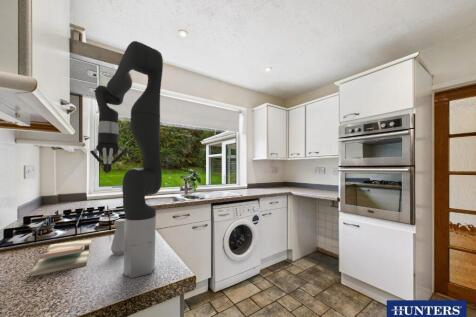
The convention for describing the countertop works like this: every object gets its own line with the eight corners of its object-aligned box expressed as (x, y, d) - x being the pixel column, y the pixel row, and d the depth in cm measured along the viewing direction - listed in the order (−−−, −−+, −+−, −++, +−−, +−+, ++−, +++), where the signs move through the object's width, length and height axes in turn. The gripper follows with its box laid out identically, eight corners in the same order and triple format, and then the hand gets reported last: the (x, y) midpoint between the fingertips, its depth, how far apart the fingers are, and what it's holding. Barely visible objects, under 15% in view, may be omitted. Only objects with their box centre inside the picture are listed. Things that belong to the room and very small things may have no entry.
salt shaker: (120, 257, 76) (121, 222, 77) (107, 255, 77) (108, 221, 78) (131, 251, 82) (132, 218, 82) (118, 249, 83) (119, 217, 84)
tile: (83, 245, 81) (83, 249, 80) (49, 251, 75) (49, 254, 75) (80, 248, 70) (79, 252, 70) (40, 255, 65) (39, 259, 64)
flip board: (86, 265, 70) (86, 256, 70) (29, 276, 63) (30, 267, 63) (91, 241, 92) (92, 235, 92) (50, 247, 85) (50, 240, 85)
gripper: (89, 130, 82) (87, 173, 82) (126, 133, 89) (125, 173, 89) (90, 132, 89) (88, 172, 88) (125, 135, 96) (124, 172, 95)
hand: (107, 172), depth 88 cm, fingers closed
